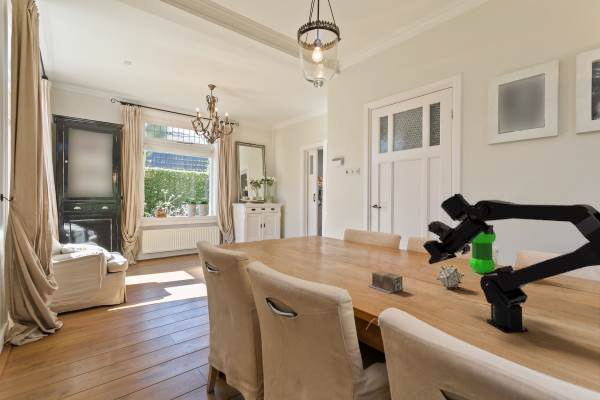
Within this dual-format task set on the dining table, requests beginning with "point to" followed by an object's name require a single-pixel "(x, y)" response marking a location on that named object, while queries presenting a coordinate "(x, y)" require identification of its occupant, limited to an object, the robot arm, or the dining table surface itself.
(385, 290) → the felt mat
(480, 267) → the plastic bottle
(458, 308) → the dining table surface
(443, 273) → the grey spiky ball
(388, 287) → the grey rectangular block
